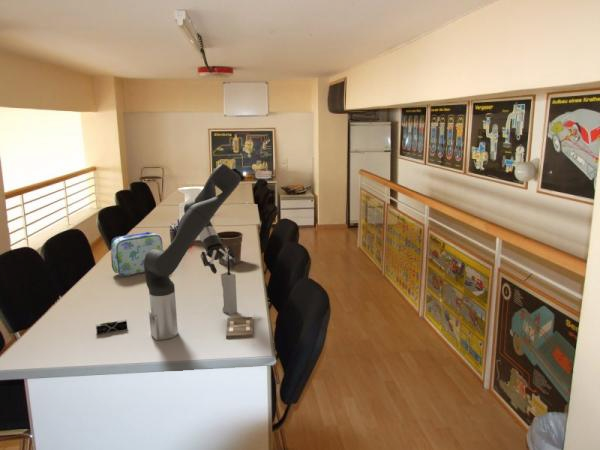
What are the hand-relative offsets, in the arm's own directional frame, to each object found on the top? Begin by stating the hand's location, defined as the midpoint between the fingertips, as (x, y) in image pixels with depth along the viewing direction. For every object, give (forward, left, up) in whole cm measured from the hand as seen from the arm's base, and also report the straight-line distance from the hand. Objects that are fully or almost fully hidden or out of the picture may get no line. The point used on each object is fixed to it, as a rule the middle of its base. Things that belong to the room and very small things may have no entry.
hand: (224, 270), depth 209 cm
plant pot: (+34, +58, -17) cm, 70 cm away
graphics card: (-46, +7, -17) cm, 50 cm away
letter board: (-6, -22, -17) cm, 28 cm away
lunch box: (-12, +74, -17) cm, 77 cm away
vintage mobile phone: (-1, -5, -17) cm, 18 cm away
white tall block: (+42, +114, -17) cm, 123 cm away
